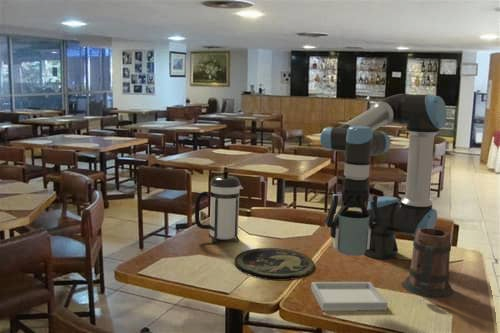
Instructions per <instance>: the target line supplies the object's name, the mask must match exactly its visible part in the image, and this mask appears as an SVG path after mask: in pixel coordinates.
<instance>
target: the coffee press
mask: <svg viewBox="0 0 500 333" xmlns="http://www.w3.org/2000/svg"><path fill="white" fill-rule="evenodd" d="M209 184H210V191H203V192H200V193H198V195H197V196H196V198H195V202H194V203H195V204H194V222H195V225H196V226H197V228H199V229H202V230H209V233H208V236H209V237H210V238H211V237H212V243H213V244H217V243H218V241H219V240H233V241H234V242H235V243H239V242H240V239H239V237H238V235H239V211H240V209H239V208H240V195H241V194H240V193H241V192H240V190H244V187H243V186H242V185H241V182H240V180H239V178H238V177H236V176H234V175H229V171H228V170H226V169H225V170H223V172H222V175H216V176H214V177H213V178H211V181H210V183H209ZM207 196H210V215H209V224H203V223H201V222H200V202H201V200H202V198H203V197H207Z"/></svg>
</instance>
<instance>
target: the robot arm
mask: <svg viewBox="0 0 500 333" xmlns="http://www.w3.org/2000/svg"><path fill="white" fill-rule="evenodd" d="M446 121H447V107H446V103H445V101H444V99H443V98H442V97H441V96H439V95H433V94H415V93H414V94H411V93H409V94H408V93H407V94H406V93H398V94H393V95H391V96H387V97H385V98H382V99H380V100H377V101H376V102H374V103H373V104H372V105H371V107H370V108H369V109H368V110H366V111H364V112H361V114H359V115H356V116H355V117H353V118H352V119H350V120H348V121H346V122H345V123H343V124H341V125H339V126H338V127H337V126H336V127H333V126H328V127H325V128H323V129H322V130H321V133H320V137H319V140H320V144H321V146H322V148H324V149H326V150H331V151H337V152H343V153H344V152H345V154H344V156H345V157H344V170H343V175H344V177H343V180H342V181H343V183H342V192H341V193H338V194H336V193H332V194H331V204H330V207H329V209H328V212H327V216H326V219H325V221H324V222H325V225H327V227H330V237H331V238H332V239H333V240H332V241H333V242H332V248H334V250H337V248H338V234H339V228H338V227H337V226H338V224H339V217H337V215H335V214H336V213H337V212H338V213H337V214H338V215H340V216H344V214H345V212H346V211H347V210H349V209H350V208H351V209H353V208H357V209H358V208H359V209H360V211H361V212H362V213H363V215H364V217H365V218H367V217H368V216H369V215H370V220H369V226H368V234H367V241H366V250H365V253H364V254H363V256H367V257H370V258H374V259H383V260H385V259H387V260H389V259H394V258H397V257H398V254H399V249H398V243H397V240H396V233H398V234H403V235H408V236H411V237H414V238H415V237H416V233H417V230H418V229H419V228H434V229H435V226H436V223H437V219H438V211H437V210H436V209H435V208H433V202H432V201H431V200H430V188H431V176H432V167H433V166H432V164H433V155H434V154H433V153H434V140H435V136H436V135H438V134H439V133H440V129H441V128H444V127H445V125H446ZM389 125H403V126H406V128H405V131H406V133H408V135H409V144H408V145H409V146H408V157H407V169H406V170H407V171H406V179H405V180H406V182H405V196H404V197H403V198H401V199H400V202H399V198H398V197H395V196H377V195H375V194H374V193H373V194H369V182H370V181H369V177H370V168H371V167H370V166H371V165H370V164H371V157H375V156H380V155H382V154H384V153H386V152H388V151H389V149H390V147H391V138H390V136H389V134H387V133H386V132H385V131H381V130H377V129H379V128H380V127H386V126H389ZM341 199H342V201H343V202H342V204H341V206H340V208H339V210H338V211H337V208H338V205H339V202H340V201H341ZM367 201H368V202H367ZM366 202H367V206H366V204H365V203H366ZM336 211H337V212H336Z"/></svg>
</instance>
